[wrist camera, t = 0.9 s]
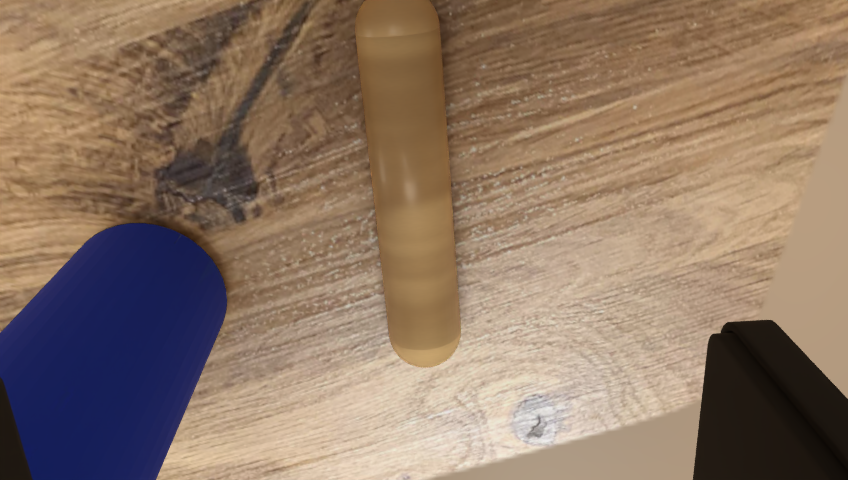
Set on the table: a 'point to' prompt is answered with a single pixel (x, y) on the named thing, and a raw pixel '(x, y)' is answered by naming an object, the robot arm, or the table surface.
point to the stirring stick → (410, 175)
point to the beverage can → (112, 354)
